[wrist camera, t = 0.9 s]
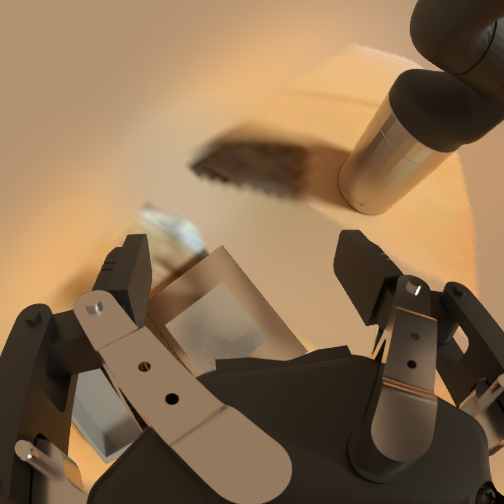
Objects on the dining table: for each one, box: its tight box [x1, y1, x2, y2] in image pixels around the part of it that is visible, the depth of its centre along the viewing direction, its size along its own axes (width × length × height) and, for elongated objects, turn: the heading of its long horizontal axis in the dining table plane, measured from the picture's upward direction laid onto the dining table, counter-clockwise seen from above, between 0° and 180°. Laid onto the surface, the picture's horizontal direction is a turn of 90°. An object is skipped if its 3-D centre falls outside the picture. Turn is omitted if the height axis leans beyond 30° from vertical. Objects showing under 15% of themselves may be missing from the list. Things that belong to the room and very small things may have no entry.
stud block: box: [146, 245, 308, 378], centre depth 32 cm, size 12×16×6 cm
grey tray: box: [71, 369, 142, 464], centre depth 30 cm, size 14×14×4 cm
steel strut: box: [165, 282, 268, 374], centre depth 26 cm, size 5×5×14 cm
